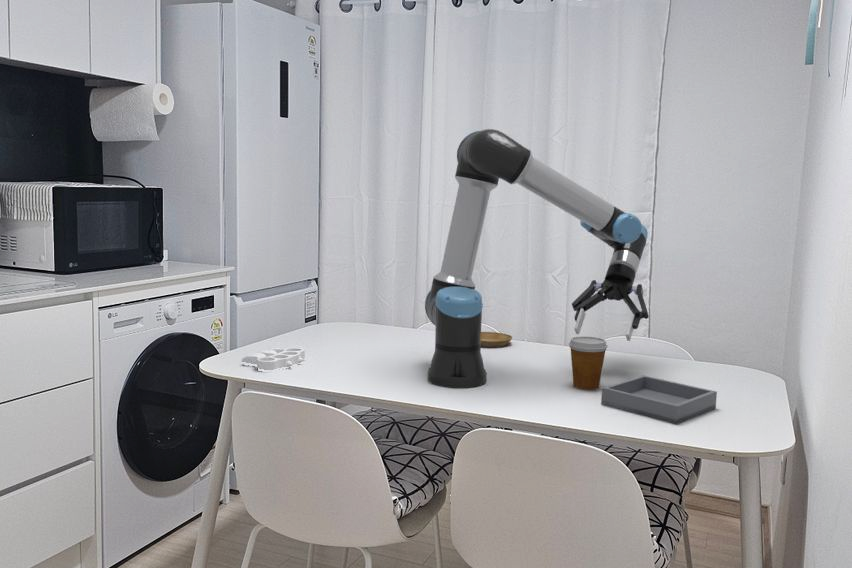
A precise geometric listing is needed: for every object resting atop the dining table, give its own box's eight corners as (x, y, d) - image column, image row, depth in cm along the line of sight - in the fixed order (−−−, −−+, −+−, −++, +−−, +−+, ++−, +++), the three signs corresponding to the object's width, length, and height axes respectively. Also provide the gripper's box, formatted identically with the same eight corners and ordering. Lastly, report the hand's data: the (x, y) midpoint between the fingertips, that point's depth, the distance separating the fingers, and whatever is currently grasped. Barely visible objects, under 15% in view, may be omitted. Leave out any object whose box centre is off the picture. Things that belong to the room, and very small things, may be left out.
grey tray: (601, 404, 179) (601, 387, 178) (642, 390, 191) (643, 375, 191) (676, 424, 165) (677, 406, 165) (715, 408, 178) (716, 391, 177)
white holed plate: (273, 356, 223) (316, 361, 217) (234, 369, 206) (280, 376, 201) (273, 344, 222) (316, 350, 217) (234, 357, 206) (280, 363, 200)
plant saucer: (488, 337, 254) (488, 329, 253) (521, 345, 243) (522, 337, 242) (455, 343, 244) (455, 335, 244) (488, 351, 233) (489, 343, 233)
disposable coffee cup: (609, 392, 190) (612, 344, 188) (570, 391, 190) (573, 343, 188) (600, 382, 199) (602, 336, 198) (563, 381, 199) (565, 335, 197)
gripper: (670, 283, 206) (652, 348, 195) (581, 275, 218) (559, 336, 208) (666, 265, 201) (647, 331, 190) (575, 258, 213) (552, 320, 203)
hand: (601, 334), depth 199 cm, fingers open, 13 cm apart
